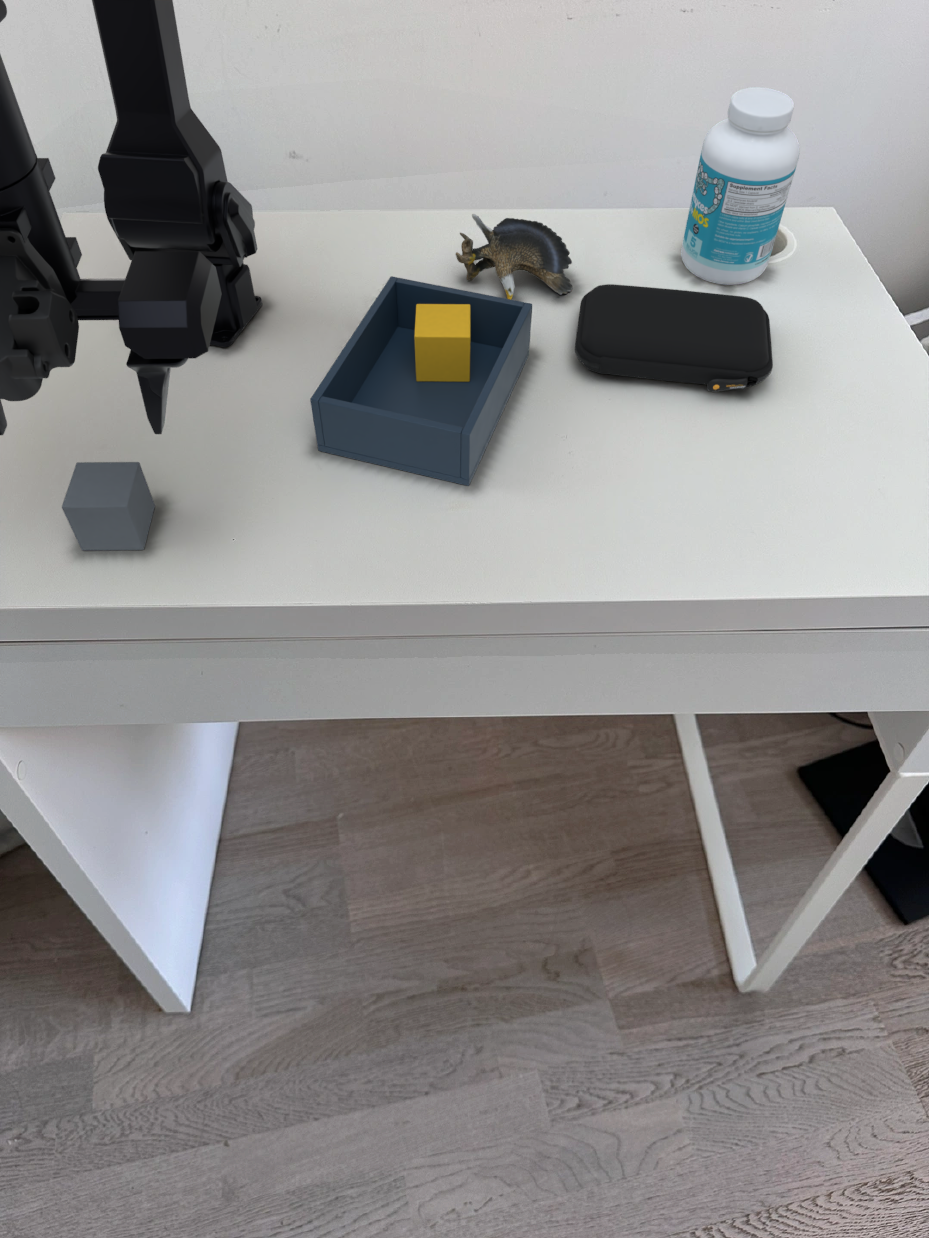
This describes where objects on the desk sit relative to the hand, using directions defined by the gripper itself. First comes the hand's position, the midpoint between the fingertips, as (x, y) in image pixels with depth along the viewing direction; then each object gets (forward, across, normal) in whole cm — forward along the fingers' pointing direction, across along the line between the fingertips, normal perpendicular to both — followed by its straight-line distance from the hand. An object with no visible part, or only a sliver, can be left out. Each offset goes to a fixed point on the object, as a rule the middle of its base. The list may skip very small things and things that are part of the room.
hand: (81, 430), depth 55 cm
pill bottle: (+8, +45, +30) cm, 55 cm away
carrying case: (+8, +39, +18) cm, 44 cm away
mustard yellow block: (+8, +21, +16) cm, 28 cm away
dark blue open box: (+8, +20, +12) cm, 25 cm away
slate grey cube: (+8, 0, 0) cm, 8 cm away
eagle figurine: (+8, +27, +27) cm, 39 cm away
